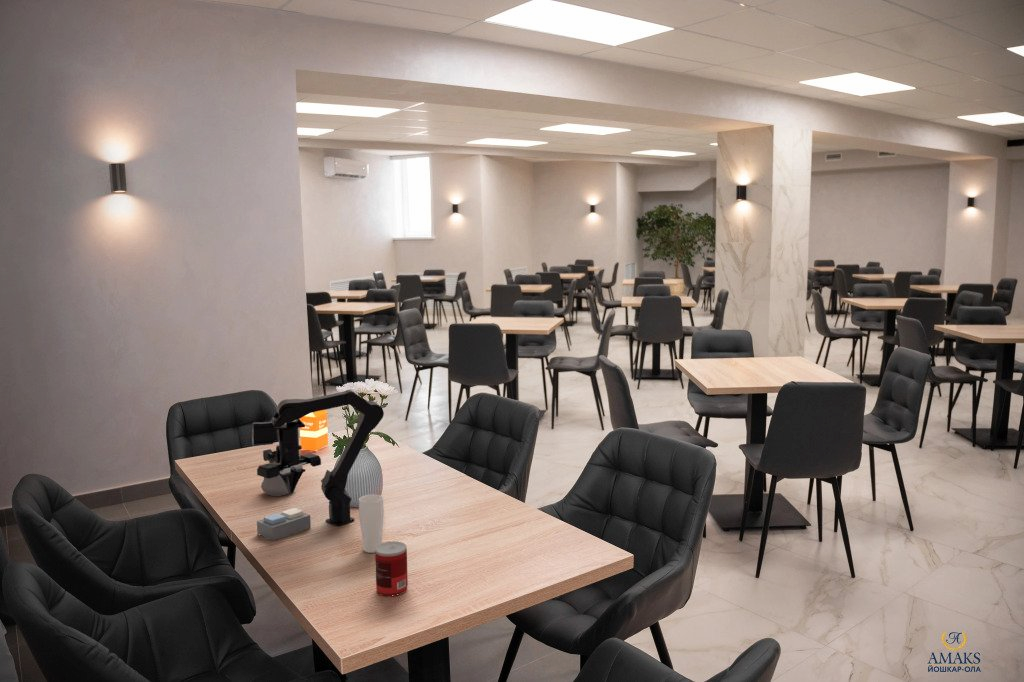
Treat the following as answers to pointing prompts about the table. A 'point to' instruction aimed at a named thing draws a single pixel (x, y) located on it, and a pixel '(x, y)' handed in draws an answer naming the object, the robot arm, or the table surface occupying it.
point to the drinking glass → (371, 521)
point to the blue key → (274, 519)
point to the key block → (283, 527)
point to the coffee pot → (274, 485)
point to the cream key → (292, 513)
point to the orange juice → (314, 430)
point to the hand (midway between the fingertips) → (290, 493)
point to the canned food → (391, 568)
